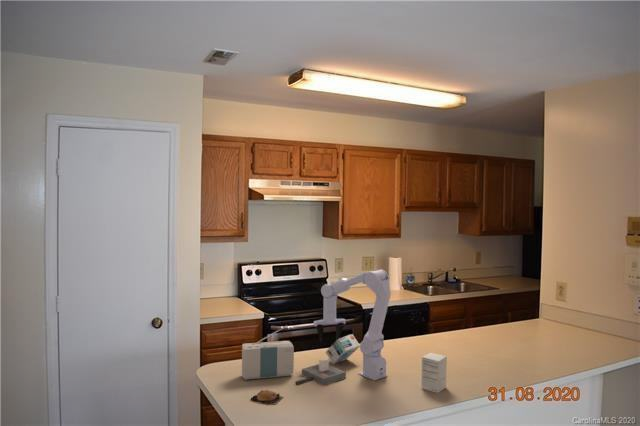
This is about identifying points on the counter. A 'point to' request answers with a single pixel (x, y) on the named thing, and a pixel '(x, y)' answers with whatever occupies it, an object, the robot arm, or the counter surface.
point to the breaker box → (324, 374)
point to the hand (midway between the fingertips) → (329, 340)
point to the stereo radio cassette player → (267, 359)
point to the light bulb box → (342, 348)
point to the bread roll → (267, 397)
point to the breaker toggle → (323, 364)
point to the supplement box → (434, 372)
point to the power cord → (303, 380)
